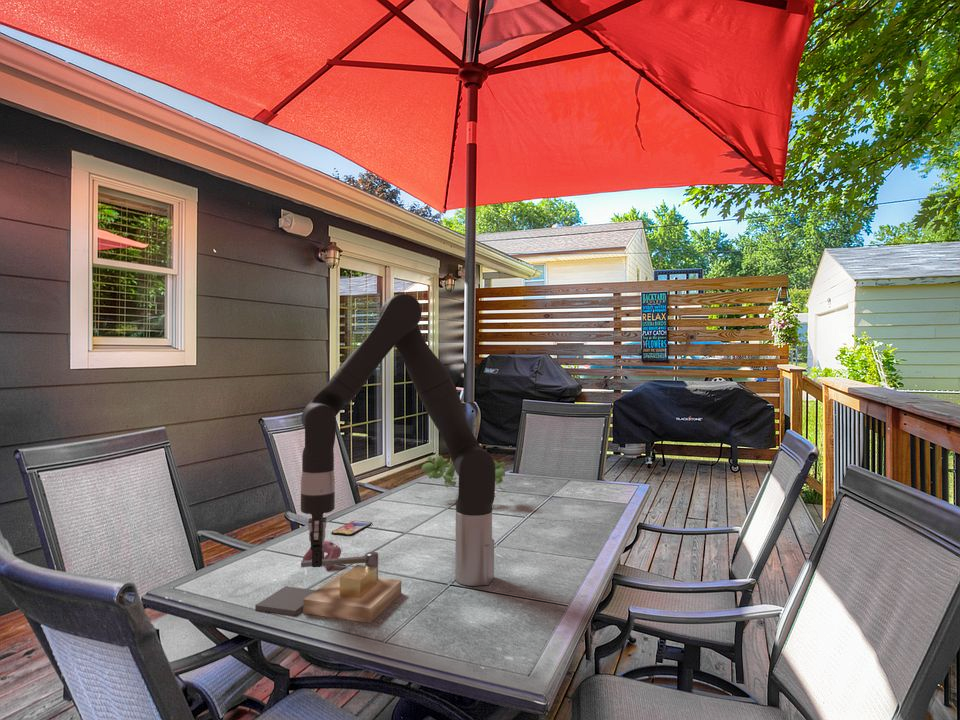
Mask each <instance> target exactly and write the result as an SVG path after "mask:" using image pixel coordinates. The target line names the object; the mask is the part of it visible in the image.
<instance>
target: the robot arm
mask: <svg viewBox="0 0 960 720" xmlns="http://www.w3.org/2000/svg"><path fill="white" fill-rule="evenodd" d="M421 319H422V307H421V304H420V302H419V301H418V300H417V298H415V297H414V296H413V295H411V294H408V293H399V294H395V295H392V297H389V298H388V299H387V300H386V301H385V302H384V303H383V304H382V306H380V310H379V319H378V320H377V321H376V322H377V323H376V324H375V326H373V329H372V330H371V332H370V333H369V334H368V335H367V336H366V338H365V339H364V340H363V341H362V342H361V343H360V344H359V345H358V346H357V347H356V349H354V351H352V353H351V354H350V355H349V356H348V357H347V358H346V359H345V360H344V362H343V363H341V365H340V366H339V367H338V369H337V370H336V371H335V372H334V374H333V375H332V376H331V378H330V379H329V380H328V381H327V384H326V385H325V386H324V387H323V388H322V389H321V390H320V391H319V392H318V393H317V394H316V395H315V396H314V397H313V398H312V400H310V402H309V403H308V404H307V405H306V406H305V408H304V409H303V411H302V413H301V419H300V420H301V423H302V425H303V427H304V448H303V450H302V456H301V457H302V460H301V463H302V464H301V465H302V466H301V468H302V469H301V480H300V512H301V513H302V514H306V515H311V517H309V518H308V520H307V524H308V525H307V529H308V530H309V531H308V532H309V533H308V535H309V538H308V541H309V542H310V546H309V549H311V551H312V568H321V567H323V566H322V550H323V546H324V544H323V541H326V540H325V539H326V528H327V524H328V523H327V520H328V519H327V516H325V517H324V514H328V513H331V512H333V511H334V510H335V509H336V508H335V505H336V504H335V503H336V502H335V501H336V500H335V499H336V497H335V490H336V485H335V483H336V479H335V478H336V477H335V453H334V452H335V451H334V446H335V441H336V435H337V434H336V433H337V415H338V414H339V413H340V411H341V410H342V409H343V407H345V406H346V405H347V404H349V403H350V402H352V401H353V399H355V397H356V396H357V395H358V394H359V392H360V391H361V389H362V388H363V387H364V386H365V384H366V383H367V382H368V380H369V379H370V377H372V375H373V374H374V372H375V371H376V369H377V368H378V367H379V365H380V364H381V362H382V361H383V360H384V359H385V357H386V356H387V355H388V354H389V352H391V350H392V349H393V348H396V349H397V351H398V353H399V355H400V356H401V359H402V360H403V364H404V366H405V368H406V371H407V373H408V375H409V378H410V380H411V382H412V384H413V387H414V388H415V391H416V393H417V395H418V397H419V399H420V401H421V403H422V405H423V406H424V407H423V408H425V411H426V412H427V414H428V416H429V417H430V420H431V421H432V423H433V425H434V426H435V427H436V428H437V430H438V432H439V434H440V435H441V437H442V439H443V441H444V443H445V445H446V449H447V451H448V453H449V454H448V455H449V457H450V458H451V461H452V462H453V466H454V468H455V473H456V474H457V476H458V494H457V499H456V500H455V550H454V551H455V552H454V553H455V556H454V557H455V561H454V562H455V566H454V567H455V569H454V573H455V574H454V575H455V577H454V578H455V581H456V582H457V583H458V584H460V585H464V586H471V587H474V586H477V587H478V586H489V585H490V583H491V582H492V580H493V578H494V577H495V539H494V538H493V504H494V501H495V498H496V493H495V492H496V481H495V463H494V460H495V459H494V457H493V456H492V455H491V453H489V452H488V451H487V450H485V449H484V448H482V446H481V445H480V443H479V441H478V440H477V438H476V437H475V434H473V432H472V429H471V428H470V425H469V423H468V421H467V418H466V415H465V414H466V413H465V410H464V406H463V402H462V400H461V399H462V398H461V396H460V394H459V391H458V389H457V387H456V385H455V383H454V381H453V379H452V378H451V375H450V373H449V371H448V370H447V368H446V367H445V366H444V364H443V363H442V362H441V359H439V358H438V357H437V356H436V354H435V353H434V352H433V351H432V349H430V348H431V347H430V346H429V345H428V344H427V342H426V340H425V338H424V336H423V333H422V331H421V328H420V325H419V323H420V321H421ZM452 462H451V463H452Z"/></svg>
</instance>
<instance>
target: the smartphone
mask: <svg viewBox="0 0 960 720" xmlns="http://www.w3.org/2000/svg"><path fill="white" fill-rule="evenodd" d="M371 524H372V525H373V522H372V521H363V520H353V521H351V522H349V523H346V524H344V525H342V526H340V527H338V528H336V529H334V530H332V531H331V535H332V536H341V537H353V536H354V535H356V534H358V533H360V532H361V531H363V530H365V529H367V528H369V527H370V526H372V525H371ZM368 526H369V527H368ZM366 527H367V528H366Z"/></svg>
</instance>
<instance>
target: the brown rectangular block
mask: <svg viewBox="0 0 960 720" xmlns="http://www.w3.org/2000/svg"><path fill="white" fill-rule="evenodd" d="M375 585H377V567H370V566H365V565H361V564H360V565H359V564H357V565H355V566H353V567H352V568H350V570H348V571H347V572H345V574H344V575H342V576H341V577H340V596H347V597H354V598H361V597H362V596H363V595H365V594H366V593H367V592H368V591H369V590H371V589H372V588H373V587H374V586H375Z"/></svg>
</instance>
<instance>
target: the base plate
mask: <svg viewBox="0 0 960 720" xmlns="http://www.w3.org/2000/svg"><path fill="white" fill-rule="evenodd" d="M345 573H346V572H345ZM345 573H342V572H339V574H337V575H336V576H334V577H333V578H332V579H330V580H329V581H328V582H326V583H324V584H323V585H322V586H320V587H319V588H317V589H315V590H316V591H315V592H313V593H312V594H310V595H309V596H307V597H306V598H305V599H303V610H302V612H303V614H307V615H313V616H321V617H328V618H334V619H340V620H348V621H355V622H362V623H368V624H369V623H370V624H371V623H372V622H373V621H374V620H375V619H376V618H377V617H379V615H380V614H381V613H382V612H383V611H384V610H385V609H386V608H388V607H389V606H390V605H391V604H392V603H393V602H394V601H395V600H396V599H397V598H398V597H399V596H400V595H401V594H402V580H401V579H393V578H386V577H384V578H383V577H378V579H377V585H375V586H374V587H373V588H372V589H371V590H369V591H368V592H367V593H366V594H365V595H363V596H362V597H361V598H354V597H347V596H340V577H341V576H342V575H344V574H345Z"/></svg>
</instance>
